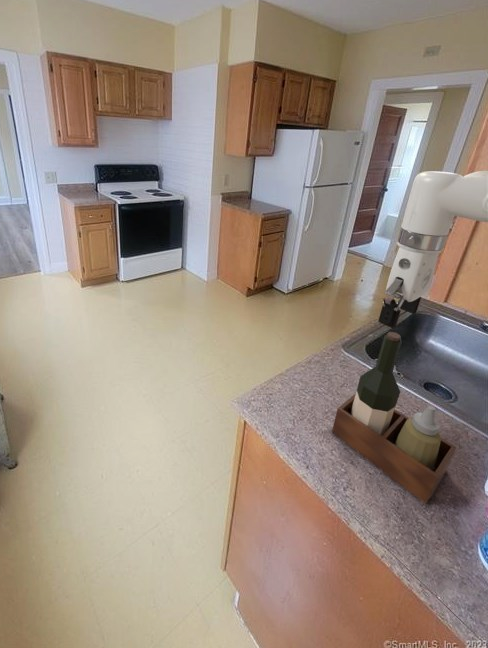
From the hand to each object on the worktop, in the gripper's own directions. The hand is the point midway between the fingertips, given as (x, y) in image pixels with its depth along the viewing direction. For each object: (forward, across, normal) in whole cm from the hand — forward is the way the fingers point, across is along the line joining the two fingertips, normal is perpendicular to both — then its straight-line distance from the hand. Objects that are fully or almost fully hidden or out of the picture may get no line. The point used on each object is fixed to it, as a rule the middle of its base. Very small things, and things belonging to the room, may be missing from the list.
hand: (397, 317), depth 67 cm
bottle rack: (+34, 0, -6) cm, 35 cm away
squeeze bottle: (+34, 0, -11) cm, 36 cm away
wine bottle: (+34, 0, 0) cm, 34 cm away
